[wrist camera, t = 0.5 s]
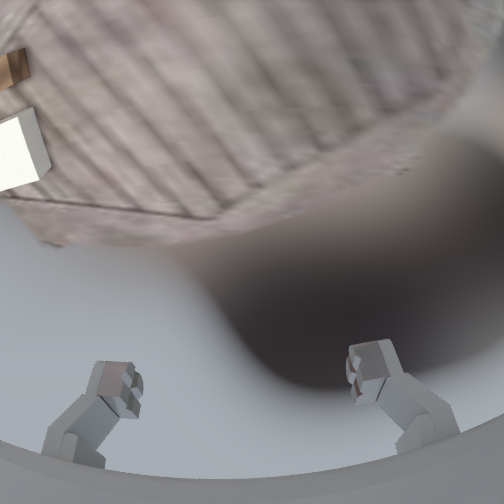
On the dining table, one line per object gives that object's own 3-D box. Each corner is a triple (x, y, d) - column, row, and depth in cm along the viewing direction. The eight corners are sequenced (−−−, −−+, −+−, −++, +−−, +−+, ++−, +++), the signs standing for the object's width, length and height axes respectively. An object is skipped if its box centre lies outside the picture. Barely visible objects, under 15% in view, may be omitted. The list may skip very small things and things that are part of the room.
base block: (-11, 125, 36) (-27, 137, 33) (33, 105, 36) (17, 116, 33) (8, 178, 44) (-5, 192, 40) (52, 165, 44) (39, 179, 40)
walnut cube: (2, 59, 30) (-17, 67, 26) (24, 48, 30) (6, 53, 26) (8, 86, 33) (-10, 96, 29) (30, 76, 33) (13, 84, 29)
